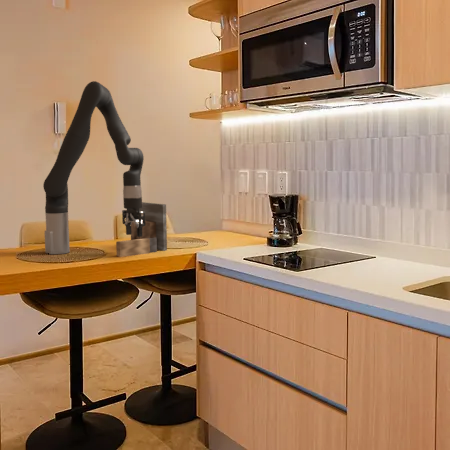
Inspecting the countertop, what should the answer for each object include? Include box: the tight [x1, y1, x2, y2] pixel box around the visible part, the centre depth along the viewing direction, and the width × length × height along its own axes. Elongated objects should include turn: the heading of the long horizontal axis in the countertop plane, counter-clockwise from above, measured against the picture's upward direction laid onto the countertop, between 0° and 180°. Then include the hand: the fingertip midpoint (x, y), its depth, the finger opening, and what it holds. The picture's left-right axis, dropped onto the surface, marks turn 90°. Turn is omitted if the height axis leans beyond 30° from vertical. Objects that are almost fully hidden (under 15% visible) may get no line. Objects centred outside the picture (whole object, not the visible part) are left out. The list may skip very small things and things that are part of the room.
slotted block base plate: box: [130, 201, 168, 251], centre depth 238 cm, size 10×20×20 cm, turn 40°
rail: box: [115, 238, 158, 258], centre depth 225 cm, size 18×3×6 cm, turn 130°
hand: (134, 235), depth 224 cm, fingers open, 8 cm apart
